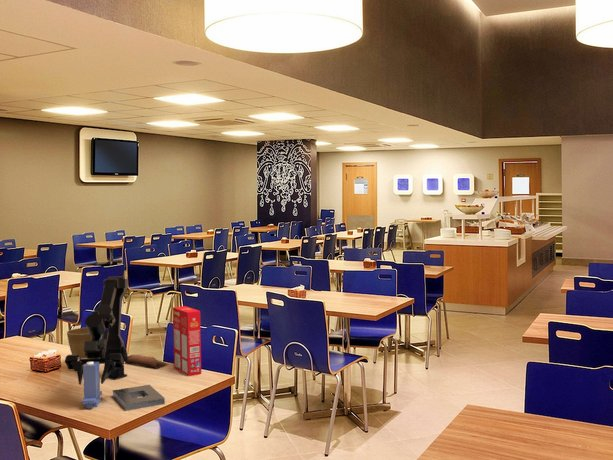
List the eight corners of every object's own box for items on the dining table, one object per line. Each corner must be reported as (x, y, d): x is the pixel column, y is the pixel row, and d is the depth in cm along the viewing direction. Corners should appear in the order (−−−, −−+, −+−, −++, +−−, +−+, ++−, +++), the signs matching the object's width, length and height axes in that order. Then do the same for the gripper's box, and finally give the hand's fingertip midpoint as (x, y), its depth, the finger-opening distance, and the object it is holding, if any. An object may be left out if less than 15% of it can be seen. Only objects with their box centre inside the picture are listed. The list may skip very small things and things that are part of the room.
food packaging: (201, 374, 251) (200, 311, 250) (188, 376, 249) (187, 312, 247) (186, 366, 264) (184, 305, 262) (174, 368, 261) (172, 307, 259)
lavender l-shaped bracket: (90, 400, 220) (89, 357, 220) (102, 399, 221) (101, 357, 220) (82, 409, 210) (80, 365, 210) (94, 409, 211) (93, 365, 210)
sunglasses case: (170, 364, 266) (164, 352, 263) (160, 376, 261) (154, 364, 258) (139, 359, 275) (132, 347, 272) (129, 371, 270) (122, 359, 267)
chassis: (113, 395, 225) (112, 390, 225) (149, 390, 231) (149, 384, 231) (125, 410, 209) (125, 404, 209) (164, 403, 216) (164, 398, 215)
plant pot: (114, 367, 263) (113, 328, 262) (84, 376, 250) (83, 335, 249) (90, 362, 271) (89, 325, 270) (60, 370, 258) (58, 331, 257)
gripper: (65, 331, 218) (56, 372, 207) (121, 330, 219) (114, 370, 208) (73, 348, 226) (64, 389, 215) (126, 347, 227) (120, 387, 217)
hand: (90, 383), depth 214 cm, fingers open, 7 cm apart
